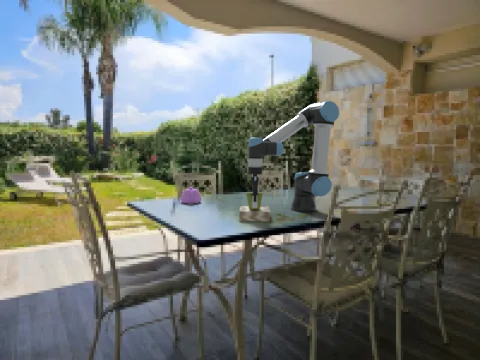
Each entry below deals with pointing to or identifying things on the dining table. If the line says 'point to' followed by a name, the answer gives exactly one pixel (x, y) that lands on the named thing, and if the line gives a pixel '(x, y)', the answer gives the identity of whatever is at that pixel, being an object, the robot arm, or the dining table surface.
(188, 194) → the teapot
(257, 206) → the plant pot
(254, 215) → the birch pedestal block
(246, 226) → the dining table surface
